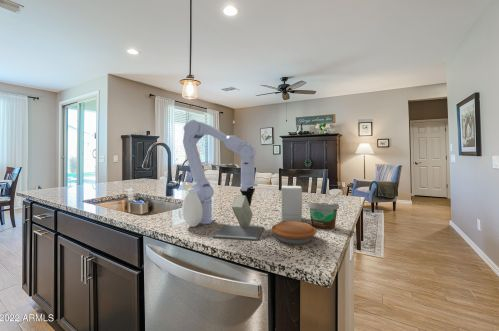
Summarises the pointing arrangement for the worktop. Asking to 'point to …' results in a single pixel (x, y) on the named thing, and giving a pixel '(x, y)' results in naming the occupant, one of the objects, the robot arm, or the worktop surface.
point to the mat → (239, 232)
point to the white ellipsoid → (192, 208)
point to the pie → (294, 232)
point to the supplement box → (292, 203)
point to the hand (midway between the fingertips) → (247, 205)
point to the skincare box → (242, 210)
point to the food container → (323, 215)
